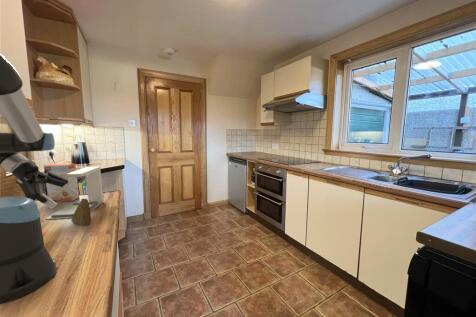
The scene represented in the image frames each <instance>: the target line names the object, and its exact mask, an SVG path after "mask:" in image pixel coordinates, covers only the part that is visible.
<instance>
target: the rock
mask: <svg viewBox="0 0 476 317" xmlns="http://www.w3.org/2000/svg"><path fill="white" fill-rule="evenodd" d="M79 202H80V203H79V204H78V207H77V209H76V210H75V212H74V214H73V216H72V218H71V220H70V221H71V222H72V223H73V224H74V225H75V224H77V225H81V226H88V225H89V226H90V224H91V223H92V221H91V220H92V217H91V211H90V207H89V203H88V202H89V199H87V198H81V199H80V201H79Z"/></svg>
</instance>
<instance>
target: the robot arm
mask: <svg viewBox="0 0 476 317" xmlns="http://www.w3.org/2000/svg"><path fill="white" fill-rule="evenodd" d="M23 86H24V83H23V80H22V78H21V76H20V73H19V72H18V71H17V69H16V67H14V65H13V64H11V62H10V61H9V60H8V59H7V58H6V57H5V56H4V55H2V54H1V53H0V116H1V118H2V119H3V121H4V122H5V123H6V125H7V126H8V127H9V129H10V130H11V131H12V132H0V167H2V168H3V169H4V170H5V171H7V172H8V173H9V174H11V175H12V176H13V177H15V178H16V180H15V183H17V185H19V187H20V188H21V190H22V192H23V193H24V196H2V197H0V305H2V304H5V303H9V302H12V301H15V300H17V299H19V298H22V297H23V296H27V295H28V294H30V293H33V292H34V291H36V290H38V289H39V288H41V287H42V286H44V285H45V284H46V283H47V282H49V281H50V280H51V279H52V278H53V277H54V276H55V275H56V272H57V265H56V260H55V259H54V258H53V257H52V256H51V254H50V252H48V250H47V248H46V247H45V242H44V236H43V235H44V234H43V229H42V224H41V222H42V221H41V213H40V211H39V208H38V204H37V202H36V200H37V201H38V202H40V203H41V204H43V205H45V206H46V207H48V208H50V209H51V210H53V209H54V208H55V207H56V206H57V205H58V203H57V201H53V200H52V199H50V198H49V197H48V195H46V194H45V193H43V192H42V193H41V189H40V186H39V184H40V185H41V184H46V183H49V184H53V185H56V186H60V187H62V188H61V189H63V190H64V191H65V192H67V193H68V194H69V195H71V196H72V197H73V198H74V197H75V196H76V195H77V194H78V192H77V191H75V190H74V189H73V188H72V187H70V186H69V185H68V184H67V183H68V180H66V179H64V178H62V177H59V176H57V175H55V174H52V173H51V172H49V171H48V170H45V171H40V170H39V166H38V164H37V165H36V163H34V162H33V161H31V160H30V159H29V158H28V157H26V156H25V155H23V154H21V153H27V152H46V151H52V150H54V149H55V145H56V143H55V136H54V134H53V133H52V132H51V131H43V129H42V126H41V125H40V123H39V121H38V119H37V117H36V115H35V113H34V111H33V109H32V108H31V106H30V103H29V102H28V99H27V98H26V96H25V94H24V92H23V90H22V88H23ZM25 196H26V197H25Z"/></svg>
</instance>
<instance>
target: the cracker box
mask: <svg viewBox="0 0 476 317" xmlns="http://www.w3.org/2000/svg"><path fill="white" fill-rule="evenodd" d="M43 169H44V171H45V170H48V171H49V172H51V173H52V174H55V175H57V176H59V177H62V178H64V179H66V180H68V183H67V184H68V185H69V186H70V187H72V188H73V189H74V190H75V191H77V192H78V194H77V195H76V196H75V197H74V198H73V197H72V196H71V195H69V194H68V193H67V192H65V191H64V190H63V189H61V188H62V187H60V186H56V185H53V184H49V183H45V184H46V190H47V196H48V197H49V198H50V199H52V200H53V201H55V202H74V201H76V200H78V199H80V191H79V190H80V189H79V183H78V177H66V174H68V173H71V172H74V171H77V168H76V163H49V164H44V165H43ZM44 171H43V172H44Z"/></svg>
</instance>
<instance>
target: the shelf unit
mask: <svg viewBox="0 0 476 317" xmlns="http://www.w3.org/2000/svg"><path fill="white" fill-rule="evenodd" d="M101 169H102V168H101V166H86V167H82V168H80V169H78V170H77V169H76V171H74V172H71V173H68V174H66V177H77V178H81V177H85V181H86V182H85V183H86V190H87V198H88V199H87V200H88V203H89V207H90V212H91V211H93V210H94V209H96V208H97V207H98V206H100V205H101V204H102V203H104V201H105V200H104V192H103V182H102V173H101V172H102V171H101ZM80 202H81V201H79V202H77V201H76V202H72V203H70V204H69V205H67V206H65V207H63V208H62V209H59V210H57V211H56V212H54V213H52V214H51V215H49V216H47V217H46V218H44V221H48V220H64V219H68V220H69V219H72V216H73V214H74V212H75V210H76V209H77V207H78V204H79V203H80Z"/></svg>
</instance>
